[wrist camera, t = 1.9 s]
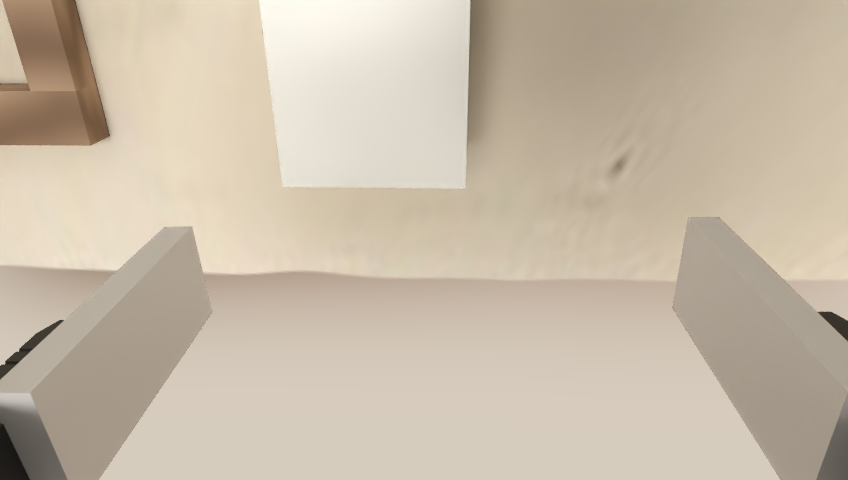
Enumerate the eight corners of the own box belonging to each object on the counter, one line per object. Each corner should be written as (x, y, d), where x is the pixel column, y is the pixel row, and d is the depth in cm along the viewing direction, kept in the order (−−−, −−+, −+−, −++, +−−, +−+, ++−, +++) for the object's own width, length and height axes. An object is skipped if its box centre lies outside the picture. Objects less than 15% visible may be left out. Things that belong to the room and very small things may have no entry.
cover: (297, -19, 30) (257, -13, 24) (467, -21, 30) (470, -15, 24) (313, 145, 34) (282, 186, 28) (463, 146, 34) (465, 188, 28)
